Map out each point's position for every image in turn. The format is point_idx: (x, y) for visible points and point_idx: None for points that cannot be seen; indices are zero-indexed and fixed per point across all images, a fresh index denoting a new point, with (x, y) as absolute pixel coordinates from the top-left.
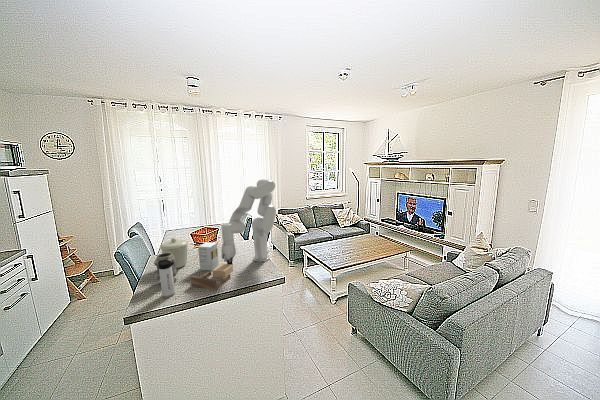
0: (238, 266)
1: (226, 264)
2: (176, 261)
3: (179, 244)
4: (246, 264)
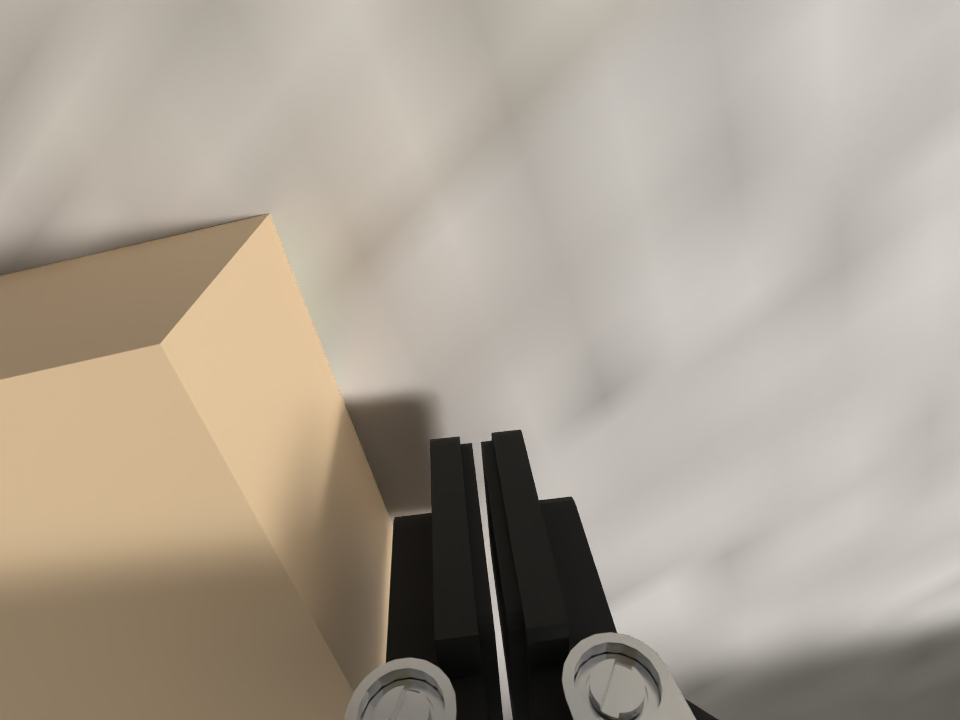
0: (706, 521)
1: (296, 635)
2: None
3: None
4: (853, 598)
